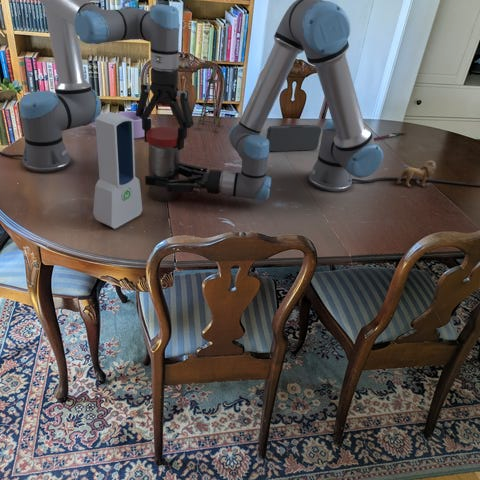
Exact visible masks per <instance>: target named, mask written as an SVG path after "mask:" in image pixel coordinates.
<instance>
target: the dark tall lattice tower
mask: <svg viewBox="0 0 480 480" xmlns="http://www.w3.org/2000/svg"><path fill="white" fill-rule="evenodd" d="M217 59H218V56H215V59H214V61H213V62H212V63H213V65H209V63H204V62H202V63H201V64H202V65H201V66H202V67H201V69H202V70H209V69H211V72H210V78H207V80H205V82H206V83H208V86H207V87H206V88H207V89H206V93H205V97H204V100H203V103H202V108H201V113H200V114H199V115H200V117H199V119H198V124H197V128H196V129H197V130H199V129H200V126H201V123H202V124H204V123H208V124H213V126H214V127H213V128H214V132H215V133H216V132H217V123H218V127H221V120H220V119H221V117H220V111H219V106H218V105H219V104H218V95H217V89H216V88H217V86H216V83H217V84H218V82H219V81H220V79H216V78H217V73H218V66H219V64H218V60H217ZM210 90H212V94H210ZM211 97H212V98H211ZM208 100H212V102H213V103H212V104H208V102H209V101H208ZM207 106H208V107H213V108H212V109H211V108H207ZM207 111H213V116H212V115H206V112H207ZM216 114H217V116H216ZM206 117H207V118H213V121H208V120H205V118H206ZM216 119H217V120H216Z"/></svg>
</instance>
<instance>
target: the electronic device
mask: <svg viewBox="0 0 480 480" xmlns="http://www.w3.org/2000/svg"><path fill="white" fill-rule="evenodd" d="M116 113H117V112H112V111H106V112H103V113H102V112H101V115H99V116H98V117H96V118H95V122H94V124H95V136H96V137H95V139H96V150H97V163H98V174H99V175H98V176H99V179H98V180H97V182H96V184H95V186H94V198H93V211H92V214H93V216H94V218H95V220H96V221H97V222H99V223H102V224H104V225H105V226H108V227H110V228H112V229H114V230H116V229H117V228H119V227H121V226H123V225H125V224H126V223H129V222H130V221H132V220H133V219H136V218H137V217H139V216H141V214H142V212H143V202H142V192H141V191H142V190H141V184H140V183H141V182H140V178H138V177H136V161H135V160H136V159H135V158H136V157H135V156H136V155H135V138H134V125H133V119H131V118H128V117H125V116H122V115H119V114H116Z"/></svg>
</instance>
